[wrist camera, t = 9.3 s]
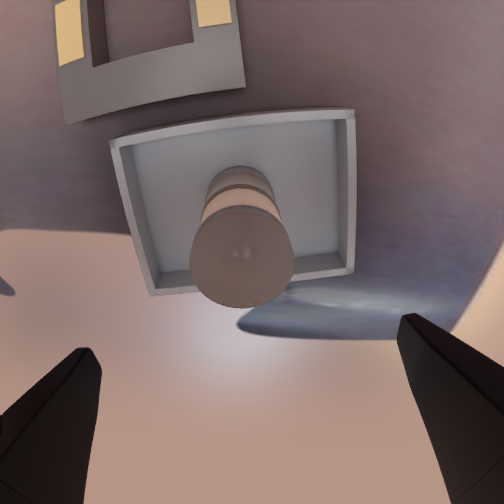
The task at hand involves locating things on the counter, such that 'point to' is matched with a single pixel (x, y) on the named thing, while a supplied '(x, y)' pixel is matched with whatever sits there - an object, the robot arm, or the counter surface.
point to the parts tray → (241, 154)
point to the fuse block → (142, 60)
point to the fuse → (241, 241)
